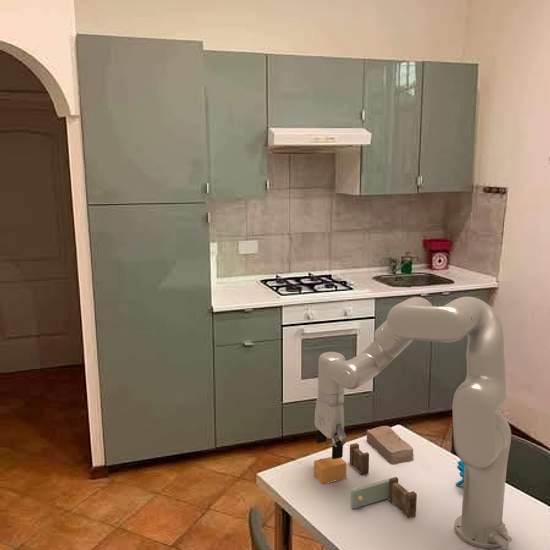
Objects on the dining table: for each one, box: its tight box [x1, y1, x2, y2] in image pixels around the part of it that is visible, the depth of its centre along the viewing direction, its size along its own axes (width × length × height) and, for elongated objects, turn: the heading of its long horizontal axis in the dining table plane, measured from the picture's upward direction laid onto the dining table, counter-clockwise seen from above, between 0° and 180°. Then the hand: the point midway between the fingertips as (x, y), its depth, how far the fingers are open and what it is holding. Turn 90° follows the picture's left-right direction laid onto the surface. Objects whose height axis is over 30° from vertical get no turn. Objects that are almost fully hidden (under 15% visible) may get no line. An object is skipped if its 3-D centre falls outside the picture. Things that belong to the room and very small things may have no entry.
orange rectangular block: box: [313, 456, 347, 485], centre depth 171 cm, size 5×8×5 cm, turn 113°
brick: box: [366, 425, 415, 465], centre depth 186 cm, size 17×8×5 cm, turn 19°
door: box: [350, 478, 390, 509], centre depth 157 cm, size 13×2×5 cm, turn 115°
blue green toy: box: [455, 460, 465, 487], centre depth 165 cm, size 11×6×10 cm
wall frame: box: [349, 442, 418, 519], centre depth 164 cm, size 30×2×6 cm, turn 23°
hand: (329, 449), depth 170 cm, fingers open, 9 cm apart
